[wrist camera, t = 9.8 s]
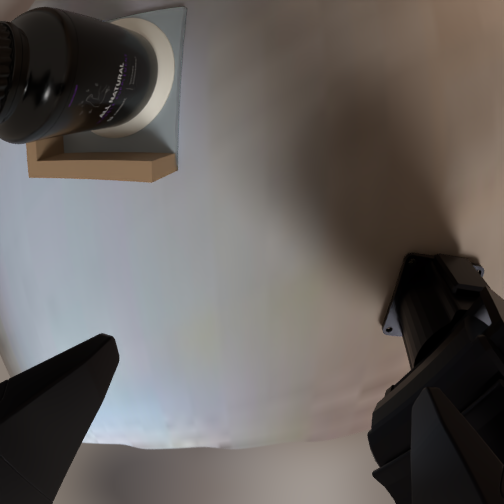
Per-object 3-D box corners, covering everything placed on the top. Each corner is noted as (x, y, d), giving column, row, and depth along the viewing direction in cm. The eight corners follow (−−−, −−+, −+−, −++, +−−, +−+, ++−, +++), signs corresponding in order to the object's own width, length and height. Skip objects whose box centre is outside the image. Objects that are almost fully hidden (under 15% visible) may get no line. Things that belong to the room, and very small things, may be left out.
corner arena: (177, 170, 20) (152, 182, 16) (59, 166, 21) (28, 177, 18) (186, 8, 15) (162, -8, 12) (61, 36, 16) (30, 33, 13)
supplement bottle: (169, 113, 17) (5, 139, 7) (87, 136, 19) (-59, 181, 8) (157, 15, 15) (7, -35, 4) (77, 49, 16) (-66, 50, 6)
